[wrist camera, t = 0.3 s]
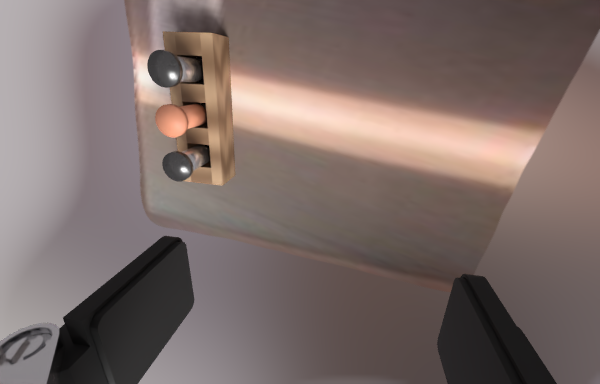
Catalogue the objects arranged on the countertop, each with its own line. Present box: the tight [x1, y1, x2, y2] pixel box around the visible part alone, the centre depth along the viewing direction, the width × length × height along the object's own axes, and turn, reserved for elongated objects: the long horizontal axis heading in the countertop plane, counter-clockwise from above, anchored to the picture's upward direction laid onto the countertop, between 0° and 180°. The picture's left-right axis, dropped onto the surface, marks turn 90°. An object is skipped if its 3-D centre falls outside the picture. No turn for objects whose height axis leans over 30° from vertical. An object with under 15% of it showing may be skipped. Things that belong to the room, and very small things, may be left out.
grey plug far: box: [163, 145, 210, 181], centre depth 41 cm, size 4×4×7 cm
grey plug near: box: [148, 50, 203, 87], centre depth 36 cm, size 4×4×7 cm
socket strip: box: [163, 32, 235, 186], centre depth 43 cm, size 21×7×5 cm, turn 178°
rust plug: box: [156, 104, 207, 137], centre depth 38 cm, size 4×4×7 cm
